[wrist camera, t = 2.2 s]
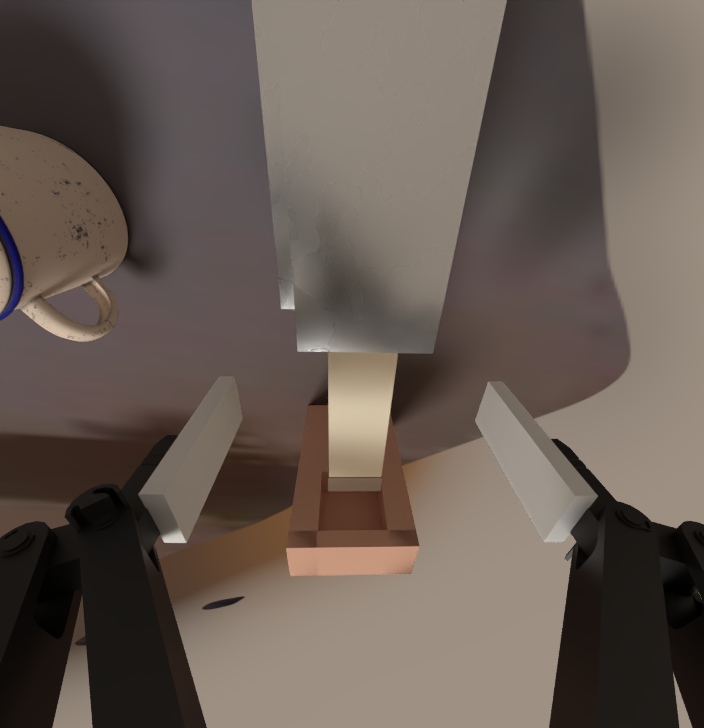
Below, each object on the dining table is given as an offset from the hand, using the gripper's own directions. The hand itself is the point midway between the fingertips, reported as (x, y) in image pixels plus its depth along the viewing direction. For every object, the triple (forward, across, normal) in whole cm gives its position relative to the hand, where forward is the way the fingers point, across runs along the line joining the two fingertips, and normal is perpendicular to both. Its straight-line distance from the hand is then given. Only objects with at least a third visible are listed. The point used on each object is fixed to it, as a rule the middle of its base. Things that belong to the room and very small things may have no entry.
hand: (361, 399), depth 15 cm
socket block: (+10, 0, -10) cm, 15 cm away
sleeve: (+10, 0, +9) cm, 14 cm away
